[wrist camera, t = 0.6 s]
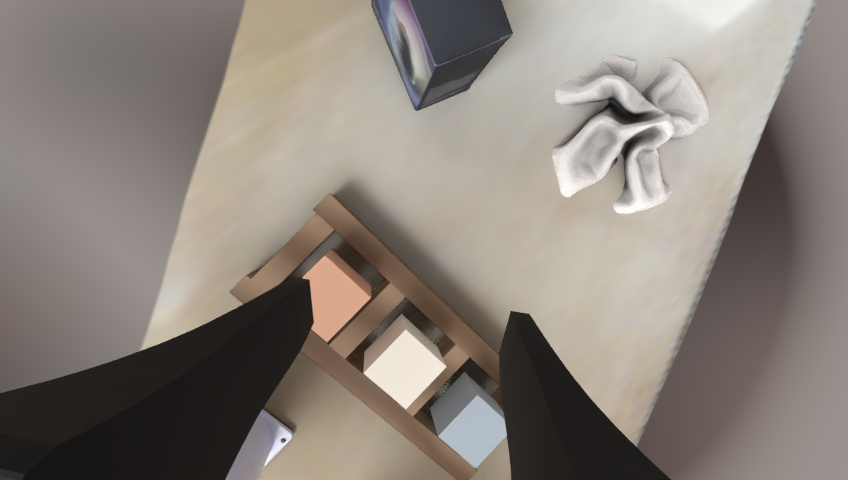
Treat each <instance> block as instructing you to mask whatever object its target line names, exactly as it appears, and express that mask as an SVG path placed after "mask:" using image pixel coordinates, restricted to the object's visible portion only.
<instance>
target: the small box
mask: <svg viewBox="0 0 848 480" xmlns="http://www.w3.org/2000/svg"><path fill="white" fill-rule="evenodd" d="M372 8H373V11H374V13H375V16H376V18H377V20H378V23H379V25H380V28H381V30H382V32H383V35H384V37H385V39H386V42H387V44H388V47H389V49H390V51H391V54H392V56H393V59H394V61H395V63H396V66H397V68H398V71H399V73H400V75H401V78H402V80H403V82H404V85H405V87H406V90H407V92H408V95H409V97H410V99H411V102H412V104H413V106H414V109H415V110H416V111H418V110H420V109H423V108H425V107H428V106H430V105H433V104H435V103H438V102H440V101H442V100H445V99H447V98H449V97H452V96H454V95H457V94H459V93H461V92H464V91H466V90H468V89H469V87H470V86H471V84H472V83H473V82H474V80H475V79H476V78H477V77H478V75H479V74H480V73H481V72H482V70H483V69H484V68H485V66H486V65H487V64H488V63H489V61H490V60H491V59H492V58H493V56H494V55H495V54H496V52H497V51H498V50H499V49H500V47H502V45H503V44H504V43H505V41H507V40H508V39H509V38H510V37H511V35H512V34H513V32H512V30H511V27H510V24H509V21H508V18H507V15H506V12H505V10H504V7H503V4H502V1H501V0H372Z"/></svg>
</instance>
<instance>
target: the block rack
mask: <svg viewBox="0 0 848 480" xmlns="http://www.w3.org/2000/svg"><path fill="white" fill-rule="evenodd" d="M313 210H314V211H315V212H316V213H317V214H316V215H315V216H314V217H313V218H312V219H311V220H310V221H309V222H308V223H307V224H306V225H305V226H304V227H303V228H302V229H301V230H300V231H299V232H298V233H297V234H296V235H295V236H294V237H293V238H292V239H291V240H290V241H289V242H288V243H287V244H286V245H285V246H284V247H283V248H282V249H281V250H280V251H279V252H278V253H277V254H276V255H275V256H274V257H273V258H272V259H271V260H270V261H269V262H268V263H267V264H266V265H265V266H264V267H263V268H262V269H261V270H259V269H257V270H255V271H253V272H251V273H249V274H248V275H246V276H245V277H244V278H243V279H242V280H241V281H240V282H239V283H238V284H237V285H236V286H235V287H234V288H233V289H232V290H231V291H230V293H231V294H232V295H233V296H235V297H236V298H237V299H238V300H239V301H241V302H242V303H243V304H245V303H247V302H249V301H251V300H252V299H254V298H256V297H258V296H260V295H261V294H263V293H265V292H267V291H268V290H270V289H272V288H274V287H276V286H277V285H279V284H281V283H283V282H284V281H285V280H286V279H287V278H288V277H289V276H290V275H291V274H292V273H293V272H294V271H295V270H296V269H297V268H298V267H299V266H300V265H301V264H302V263H303V262H304V261H305V260H306V259H307V258H308V257H309V256H310V255H311V254H312V253H313V252H314V251H315V250H316V249H317V248H318V247H319V246H320V245H321V244H322V243H323V242H324V241H325V240H326V239H327V238H328V237H329V236H330V235H331V234H332V233H333V232H334V231H336V232H337V233H338V234H339V235H340V236H341V237H342V238H344V239H345V240H346V241H347V242H348V243H349V244H350V245H351V246H352V247H353V248H354V249H355V250H356V251H357V252H358V253H359V254H361V255H362V256H363V257H364V258H365V259H366V260H367V261H368V262H369V263H370V264H371V265H372V266H373V267H374V268H375V269H377V270H378V271H379V272H380V273H381V274H382V275H383V276H384V277H385V278H386V279H385V280H384V281H383V282H382V283H381V284H380V285H379V286H378V287H377V288H376V289H375V290H374V291H373V292H372V293H371V298H370V299H369V300H368V301H367V302H366V303H365V304H364V305H363V306H362V307H361V308H360V309H359V310H358V312H357V313H356V314H355V315H354V316H353V317H352V318H351V319H350V320H349V321H348V322H347V323H346V324H345V325H344V326H343V327H342V328H341V329H340V330H339V331H338V332H337V333H336V334H335V335H334V336H333V337H332V338H331V339H330V340H329V341H328V342H326V341H325V340H323V339H322V338H321V337H320V336H319V335H318V334H316V333H315V332H314V331H313V330H312V329H311V330H310V332H309V335H308V337H307V339H306V341H305V343H304V345H303V347H302V349H301V350H300V351H301V352H303V353H304V354H305V355H306V356H307V357H309V358H310V359H311V360H312V361H314V362H315V363H316V364H317V365H318V366H320V367H321V368H322V369H323V370H324V371H326V372H327V373H328V374H329V375H331V376H332V377H333V378H334V379H335V380H337V381H338V382H339V383H340V384H341V385H343V386H344V387H345V388H346V389H348V390H349V391H350V392H351V393H352V394H354V395H355V396H356V397H357V398H358V399H360V400H361V401H362V402H363V403H365V404H366V405H367V406H368V407H369V408H371V409H372V410H373V411H374V412H375V413H377V414H378V415H379V416H380V417H382V418H383V419H384V420H385V421H386V422H388V423H389V424H390V425H391V426H392V427H394V428H395V429H396V430H397V431H398V432H400V433H401V434H402V435H403V436H405V437H406V438H407V439H408V440H409V441H411V442H412V443H413V444H414V445H415V446H417V447H418V448H419V449H420V450H422V451H423V452H424V453H425V454H426V455H428V456H429V457H430V458H431V459H432V460H434V461H435V462H436V463H437V464H439V465H440V466H441V467H442V468H443V469H445V470H446V471H447V472H448V473H449V474H451V475H452V476H453V477H454V478H456V479H457V480H469V479H470V478H471V477H472V476H473V475H474V474H475V472H476V471H477V469H476V468H474V467H473V466H472V465H471V464H470V463H469V462H467V461H466V460H465V459H464V458H463V457H461V456H460V455H459V454H458V453H457V452H456V451H454V450H453V449H452V448H451V447H450V446H449V445H447V444H446V443H445V442H444V441H443V440H441V439H440V438H439V437H438V435H437V432H436V428H435V425H434V421H433V418H432V417H431V416H429V415H428V414H427V413H426V412H425V411H424V410H422V409H421V407H422V406H423V405H424V404H425V403H426V402H427V401H428V400H429V399H430V398H431V397H432V396H433V395H434V394H435V393H436V392H437V391H438V390H439V389H440V388H441V387H442V385H443V384H444V383H445V382H446V381H447V380H448V379H449V378H450V377H451V376H452V375H453V374H454V373H455V372H456V371H457V370H458V369H459V368H460V367H461V366H462V365H463V363H464V362H465V361H466V360H467V359H468V358H469V357H470V358H471V359H472V360H473V361H474V362H475V363H476V364H477V365H479V366H480V367H481V368H482V369H483V370H484V371H485V372H486V373H487V374H488V375H489V376H490V377H491V378H492V379H493V380H494V381H496V382H497V383H498V384H499V385H500V377H499V355H498V354H497V353H496V352H495V351H494V350H493V349H492V348H491V347H490V346H489V345H488V344H487V343H486V342H485V341H484V340H483V339H482V338H481V337H480V336H479V335H478V334H477V333H476V332H475V331H473V330H472V329H471V328H470V327H469V326H468V325H467V324H466V323H465V322H464V321H463V320H462V319H461V318H460V317H459V316H458V315H457V314H456V313H455V312H454V311H453V310H452V309H451V308H450V307H449V306H448V305H447V304H446V303H445V302H444V301H442V300H441V299H440V298H439V297H438V296H437V295H436V294H435V293H434V292H433V291H432V290H431V289H430V288H429V287H428V286H427V285H426V284H425V283H424V282H423V281H422V280H421V279H420V278H419V277H418V276H417V275H416V274H415V273H414V272H413V271H411V270H410V269H409V268H408V267H407V266H406V265H405V264H404V263H403V262H402V261H401V260H400V259H399V258H398V257H397V256H396V255H395V254H394V253H393V252H392V251H391V250H390V249H389V248H388V247H387V246H386V245H385V244H384V243H383V242H382V241H380V240H379V239H378V238H377V237H376V236H375V235H374V234H373V233H372V232H371V231H370V230H369V229H368V228H367V227H366V226H365V225H364V224H363V223H362V222H361V221H360V220H359V219H358V218H357V217H356V216H355V215H354V214H353V213H352V212H351V211H349V210H348V209H347V208H346V207H345V206H344V205H343V204H342V203H341V202H340V201H339V200H338V199H337V198H336V197H335V196H334V195H332V194H328V195H327V196H326V197H325V198H324V199H323V200H322V201H321V202H320V203H319V204H318V205H317V206H316V207H315V208H314V209H313ZM405 297H406V298H407V299H408V300H409V301H411V302H412V303H413V304H414V305H415V306H416V307H417V308H418V309H419V310H420V311H421V312H422V313H423V314H424V315H425V316H426V317H428V318H429V319H430V320H431V321H432V322H433V323H434V324H435V325H436V326H437V327H438V328H439V329H440V330H441V331H442V332H443V333H445V334H446V336H445V337H444V338H443V339H442V340H441V341H440V342H439V343H438V344H437V345H436V346H437V347H438V349H439V351H440V354H441V356H442V358H443V360H444V362H445V364H446V366H447V367H446V368H445V369H444V370H443V371H442V372H441V373H440V374H439V375H438V376H437V377H436V378H435V380H434V381H433V382H432V383H431V384H430V385H429V386H428V387H427V388H426V389H425V390H424V391H423V392H422V393H421V394H420V395H419V396H418V397H417V398H416V399H415V400H414V401H413V403H412V404H411V405H410V406H409V407H408V408H407V409H405V408H404V407H402V406H401V405H400V404H399V403H398V402H397V401H395V400H394V399H393V398H392V397H391V396H390V395H388V394H387V393H386V392H385V391H384V390H382V389H381V388H380V387H379V386H378V385H377V384H375V383H374V382H373V381H372V380H371V379H369V378H368V377H367V376H366V375H365V374H364V373H363V369H364V359H363V358H362V357H361V356H360V355H358V354H357V353H356V352H355V351H354V349H355V348H356V347H357V346H358V345H359V344H360V343H361V342H362V341H363V340H364V339H365V338H366V337H367V336H368V335H369V334H370V333H371V332H372V331H373V330H374V329H375V328H376V327H377V326H378V325H379V324H380V323H381V322H382V321H383V320H384V319H385V318H386V317H387V316H388V315H389V314H390V313H391V312H392V310H393V309H394V308H395V307H396V306H397V305H398V304H399V303H400V302H401V301H402V300H403V299H404V298H405ZM491 397H492V398H493V399H494V400H495V401H497V403H498V405H499V406H500V408H501V409H502V411H503V404H502V397H501V389H500V387H499V388H498V389H497V390H496V391H495V393H494V394H493V395H492V396H491ZM503 412H504V411H503Z"/></svg>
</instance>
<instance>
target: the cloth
mask: <svg viewBox="0 0 848 480" xmlns="http://www.w3.org/2000/svg"><path fill="white" fill-rule="evenodd" d="M603 61H604V62H605V63H606V64H607V65H608V66H609V67H610V68H611V70H612V71H613V72H614V73H616V74H617V75H619V76H617V75H610V74H605V75H595V76H591V77H588V78H587V77H577V78H575V79H573V80H571V81H569V82H567V83H565V84H563V85H561V86H559V87H557V88H555V100H556V101H557V102H558V103H560V104H562V105H568V106H574V105H577V104H581V103H589V102H601V101H605V100H607V99H608V100H609V104H608V105H607V106H606V108H605V109H604V110H603V111H601V112H600V113H599V114H597V115H596V116H594V117H593V118H591V119H590V120H589V121H588V122H587V123H586V124H585V125H584V127H583V128H582V130H581V131H580V132H579V133H578V134H577V135H576V136H575V137H574V138H573V139H571V140H570V141H569V142H567V143H566V144H565V145H560V146H557V147H555V148H554V149H553V152H552V157H553V161H554V166H555V171H556V175H557V179H558V183H559V187H560V191H561V193H562V194H563V196H565V197H571V195H573V194H574V193H576V192H577V191H579V190H580V189H582V188H585V187H587V186H589V185H592V184H594V183H596V182H597V181H599V180H600V179H602V178H604V177H605V176H606V175H607V173H608V171H609V170H610V169H611V168H612V167H613V166H614V164H615V163H616V162H617V156H618V155H619V154H620V152H621V153H622V155H623V157H624V160H625V176H626V179H625V184H624V188H623V193H622V195H621V196H620V197H619V198H618V200H617V201H616V202H614V206H613V208H614V209H615V211H616V212H618V213H619V214H620V213H633V212H637V211H641V210H645V209H648V208H651V207H653V206H655V205H658V204H661V203H662V202H663V201H665V200H666V199H667V198H668V197H669V196H670V194H671V193H672V188H671V185H668V184H666V183H665V182H664V181H662V177H661V171H660V164H659V155H658V151H657V148H658V147H659V146H661V145H662V144H663V143H664V142H666V141H667V140H669V139H670V138H681V137H685V136H687V135H689V134H691V133H693V132H694V131H695V130H696V129H697V128H698V127H699V126H702V125H704V124H706V123H707V122H708V119H709V107H708V104H707V102H706V100H705V97H704V95H703V93H702V92H701V90H700V88H699V86H698V85H697V83H696V82H695V80H694V78H693V77H692V75H691V74H690V72H689V71H688V69H687V68H685V67H684V66H683V65H681V64H680V63H678V62H677V61H675V60H673V59H671V58H666V59H664V60H663V62H662V66H661V71H660V74H659V75H658V77H657V78H656V80H655V81H654V82H653V83H652V84H651V85H650V86H649V87H647V88H646V89H645V90H644V91H643V93H642V94H640V93H639V92H638V91H637V90H636V89H635V88H634V87H633V86H632V85H631V84H630V83H628V82H627V81H632V80H633V79H634V78H635V76H636V68H637V62H634V61H631V60H628V59H625V58H622V57H619V56H617V55H612V56H609V57H606V58H603Z"/></svg>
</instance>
